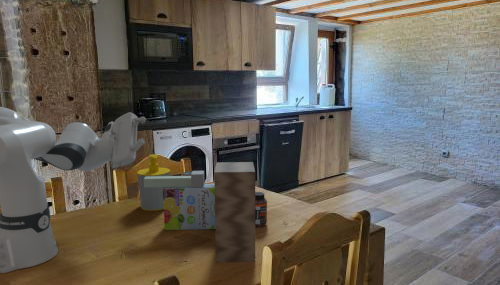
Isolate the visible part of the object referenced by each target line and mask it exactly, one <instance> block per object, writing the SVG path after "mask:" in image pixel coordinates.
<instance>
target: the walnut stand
mask: <svg viewBox="0 0 500 285" xmlns="http://www.w3.org/2000/svg"><path fill="white" fill-rule="evenodd" d="M214 167H215V168H214V174H213V176H214V177H213V178H214V179H213V180H214V184H215V229H214V230H215V263H245V262H246V263H249V262H256V226H255V192H256V170H255V169H256V168H255V165H254V162H253V161H238V162H237V161H236V162H235V161H230V162H229V161H227V162H224V161H222V162H218V161H217V162H216V163H215V166H214Z"/></svg>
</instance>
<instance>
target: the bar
mask: <svg viewBox="0 0 500 285" xmlns="http://www.w3.org/2000/svg"><path fill="white" fill-rule="evenodd" d="M191 171H192V174H191V176H182V175H170V176H147V177H145V178H144V187H204V184H206V183H205V170H191Z"/></svg>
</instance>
